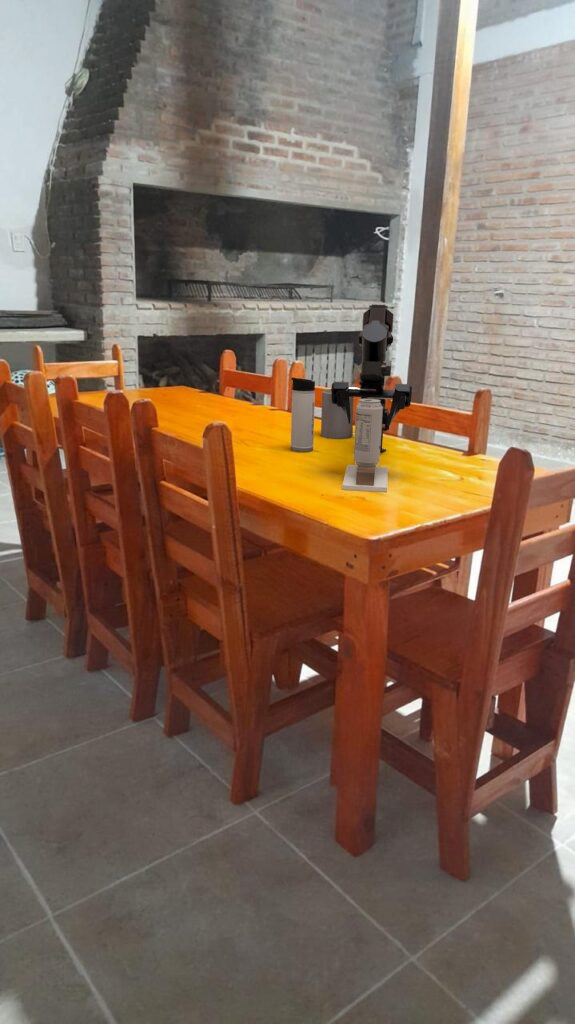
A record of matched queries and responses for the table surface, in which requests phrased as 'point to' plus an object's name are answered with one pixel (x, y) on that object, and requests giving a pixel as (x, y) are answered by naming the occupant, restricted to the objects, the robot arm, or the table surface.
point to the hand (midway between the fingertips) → (369, 423)
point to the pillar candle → (335, 418)
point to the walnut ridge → (365, 475)
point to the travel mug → (302, 415)
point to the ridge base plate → (379, 485)
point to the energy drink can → (368, 432)
